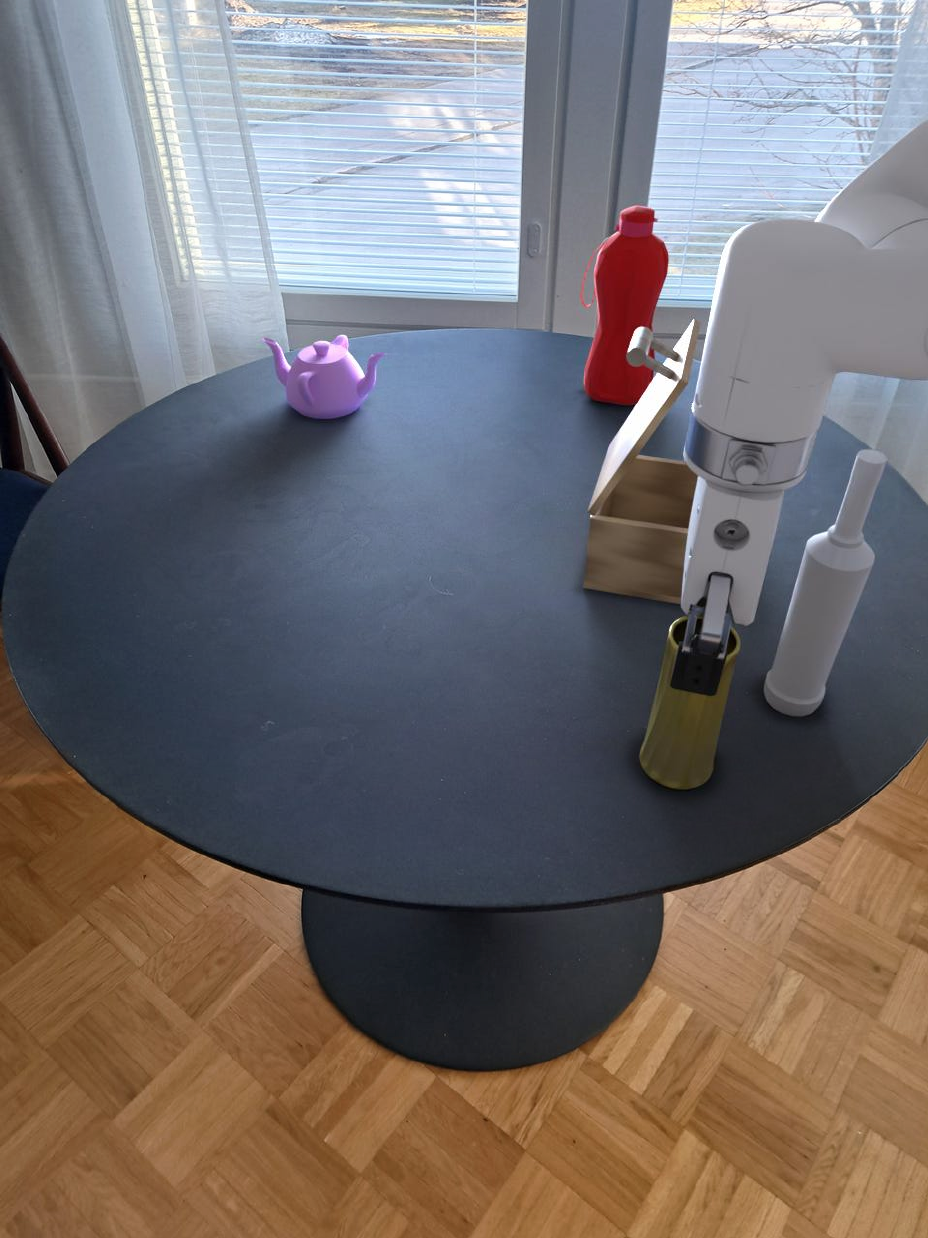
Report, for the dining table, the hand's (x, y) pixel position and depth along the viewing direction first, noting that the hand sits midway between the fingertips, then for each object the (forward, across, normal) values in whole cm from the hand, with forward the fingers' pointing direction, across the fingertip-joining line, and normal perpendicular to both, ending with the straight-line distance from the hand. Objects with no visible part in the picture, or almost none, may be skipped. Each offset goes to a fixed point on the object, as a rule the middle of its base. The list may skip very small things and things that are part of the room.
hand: (698, 645), depth 65 cm
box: (+13, +28, +4) cm, 31 cm away
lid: (-3, +28, +8) cm, 29 cm away
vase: (+14, 0, 0) cm, 14 cm away
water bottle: (+14, +67, +16) cm, 70 cm away
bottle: (+14, +11, -10) cm, 20 cm away
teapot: (+14, +53, +54) cm, 77 cm away
